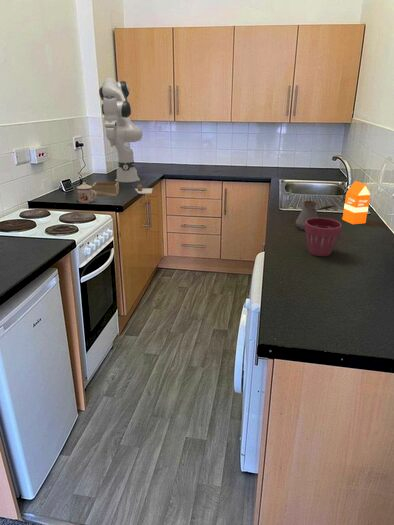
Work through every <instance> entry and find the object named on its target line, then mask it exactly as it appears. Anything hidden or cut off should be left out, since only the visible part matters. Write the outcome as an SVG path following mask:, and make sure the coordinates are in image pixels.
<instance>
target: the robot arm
mask: <svg viewBox="0 0 394 525" xmlns="http://www.w3.org/2000/svg"><path fill="white" fill-rule="evenodd" d="M98 93H99V94H98V95H99V98H100V99H101V100H102V104H101V113H102V115H103V116H104V117H103V122H104V128H105V131H106V132H105V133H106V134H105V135H106V139H107V140H108V141H109V143H110V147H111V148H114V147H115V148H116V151H117V157H118V158H117V159H118V162H117V166H118V168H117V169H116V178H115V179H114V182H119V183H134V182H140V181H141V179H140V177H139V176H138V170H137V169H136V167H135V165H136V164H135V161H134V158H135V157H134V150H133V149H132V148H130V147H129V146H126V145H125V143H135V142H140V141H141V140H142V138H143V131H142V129H141V127H139V126H137V125H136V124H134V123H133V122H132V120H131V118H130V116H131V115H132V106H131V104H130V102H129V101H128V100H129V99H128V97H129V95H130V86H129V84H128V83H127V82H126V81H125V80H121V81H117V80H116V79H115V78H114V77H112V76H108V77H106V78H104V80H103V82H102V86H101V87H99V90H98Z"/></svg>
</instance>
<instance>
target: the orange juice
mask: <svg viewBox="0 0 394 525" xmlns="http://www.w3.org/2000/svg"><path fill="white" fill-rule="evenodd" d="M370 200H371V192H370V191H369V188H368V186H367V183H362V182H360V181H357V180H354V182H353V183H352V184H351V186H350V187H349V188H348V189H347V191H346V194H345V200H344V206H343V214H342V217H341V218H342V220H343V221H344V222H346V223H349V224H351V225H359V224H366V222H367V218H368V217H367V216H368V212H369V204H370Z"/></svg>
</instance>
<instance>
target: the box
mask: <svg viewBox="0 0 394 525" xmlns="http://www.w3.org/2000/svg"><path fill="white" fill-rule="evenodd" d="M91 186H92V190H93V191H95V192H96V197H117V196H118V195H119V193H120V182H118V181H95V182H94V183H93V184H91ZM92 193H93V197H94V196H95V194H94V192H92Z"/></svg>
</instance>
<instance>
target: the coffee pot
mask: <svg viewBox="0 0 394 525" xmlns="http://www.w3.org/2000/svg"><path fill="white" fill-rule="evenodd" d="M302 204H303V207H302V210H301V211H300V213H299V214H298V217H297V218H296V220H295V225H296V226H297V228H298V229H299V230H302V231H305V222H306V220H308V219H310V218H319V216H318V213H317V211H321V210H327V209H332V210H334V208H337V206H335V205H334V204H333V205H328V206H327V205H326V206H323V207H318V208H316V206H317V204H318V202H316V201H312V200H305V201H303V202H302Z"/></svg>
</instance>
